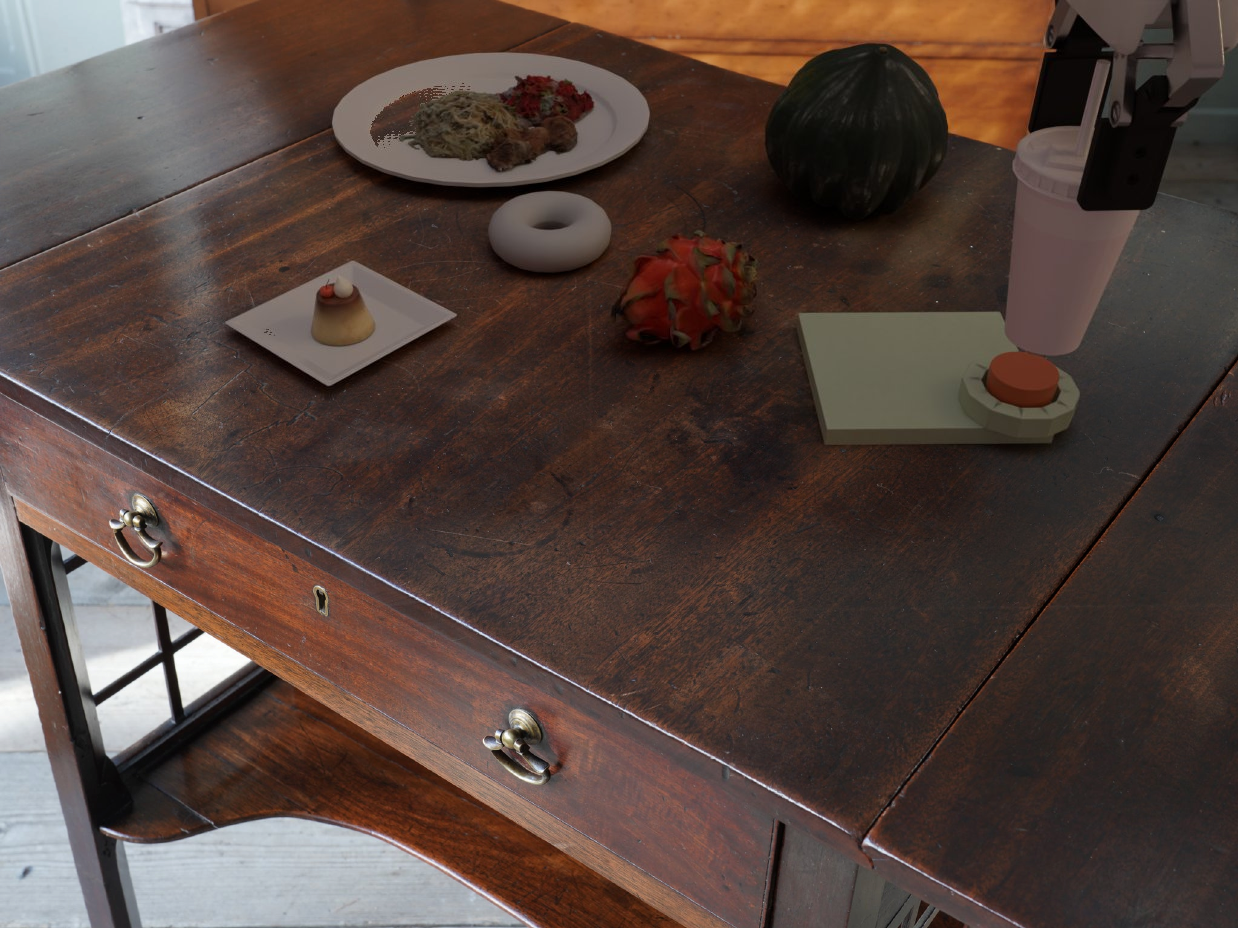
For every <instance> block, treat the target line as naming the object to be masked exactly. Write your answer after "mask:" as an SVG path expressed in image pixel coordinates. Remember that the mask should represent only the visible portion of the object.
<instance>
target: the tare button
mask: <svg viewBox="0 0 1238 928" xmlns="http://www.w3.org/2000/svg"><path fill="white" fill-rule="evenodd" d="M1055 366H1056V365H1055V364H1054V363H1052V362H1051V361H1050V360H1049V359H1046V358H1045V357H1043V356H1040V355H1039V354H1035V353H1032V352H1027V351H1019V352H1007V353H1003V354H1000V355H998V356H996V357H995V358H994V359H993V360H992V361H991V363H990V367H989V371H988V375H987V379H986V388H987V390H988V392H989V393H990V395H992V396H993V397H994V398H996V399H997V400H999V401H1000V402H1003V403H1006V404H1010V405H1013V406H1016V407H1020V408H1040V407H1043V406H1047V405H1049V404H1051V403H1052V402H1051V401H1052V400H1053V398H1054V395H1055V392H1056V388H1057V385H1058V381H1059V372H1058V370H1057V368H1058V367H1057V366H1056V367H1057V368H1056V367H1055Z"/></svg>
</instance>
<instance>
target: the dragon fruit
mask: <svg viewBox="0 0 1238 928" xmlns="http://www.w3.org/2000/svg"><path fill="white" fill-rule="evenodd" d="M693 235H694V236H696V237H695V238H694V239H689V238H686V237H684V236H683V235H682V234H680V233H676V234H673V235H672V236H671V237H666V238H665V239H663V240H662V241H661V242H660V243H658V244H657V247H656V248H655V250H652V251H648V252H645V253H642V254H640V255H638V256H636V257H634V258H633V260H632V262H631V264H630V267H629V272H628V276H627V279H626V281H625V283H624V284H623V287H622V288H621V290H620V292H619V296H618V298H617V300H616V301H615V302H614V304H613V305H612V306H611V313H610V320H611V323H612V324H615V323H616V322H617V319H616V318H617V316H619V318H620V319H621V321H625V322H627V323H629V325H633V326H634V327H631V328H629V329H627V330H626V331H625V335H626V337H627V339H628V340H632V341H634V342H638V343H643V344H644V345H646V346H647V345H653V346H654V345H655V346H656V344H659V343H661V342H663V340H668V342H669V344H670V345H673V346H674V347H675V348H677V349H678V348H681V347H683V346H684V345H686V344H689V348H690V350H691V351H697V350H699V349H702V348H705V347H706V346H707V345H708V344H711V342H713V337H715V336H718V335H719V333H721V332H722V331H724V332H726V333H734V332H738V331H740V330H741V328H742V324H743V322H742V321H743V320H746V319H750V318H752V316H754V314H755V311H756V310H755V309H753V310H752V311H751V310H748V309H747V308H746V306H748V305H750V304H751V303H752V301H753V300H754V299H755V298H757V294H758V291H757V285H756V283H755V282H756V281H757V280H758V278H759V277H758V275H757V273H758V263H759V260H758V259H756V258H755V257H753V256H752V255H751V254H750V253H749V252H746V251H745V252H743V251H742V249H743V244H742V243H739V242H737V241H729V242H726V240H724V239H723V238H721V237H719V238H717V239H716V240H714V239H712V238H711V237H710V234H709V233H707V232H704V231H702V230H701V229H697V230H695V231H694V232H693ZM731 318H732V319H735V320H738V324H734V322H733V321H732V320H731ZM704 334H705V335H704ZM702 335H704V338H703V340H702Z"/></svg>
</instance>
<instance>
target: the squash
mask: <svg viewBox="0 0 1238 928" xmlns="http://www.w3.org/2000/svg"><path fill="white" fill-rule="evenodd" d="M764 147H765V151H766V156H767V159H768V163H769V164H770V166H771V168H772V170H773V171H774V173H775V175H776V177H777V178H778V180H780V181H781V182H782V183H783V184H784V185H786V186H787V188H788V189H789V191H790V192H791V193H792V194H793V195H794V196H795V197H797V198H799V199H801V200H812V199H813V202H815V203H816V204H817V205H819V206H821V207H822V208H829V207H833V206H835V205H836V207H837V209H838V211H839V212H840V213H841V214H842V215H843V216H845V217H847V218H848V219H852V220H855V221H856V220H863V219H864V218H866V217H868V216H869V215H870V214H874V215H878V216H888V215H892V214H895V213H896V212H898V211H900V210H901V209H902V208H903V207H905V206H906V205H907V204H908V203H909V202H910V201H911V200H912V199H913V198H914V196H915V195H916V194H917V193H918V192H920V191H921V190H922V189H923V188H924V187H925V186H926V185H927V184H928V183H929V182H930V181H931V180H932V179H933V177H935V175H937V173H938V171H939V169H940V168H941V166H942V165H943V163H944V160H945V159H946V155H947V152H948V147H949V123H948V118H947V113H946V111H945V109H944V107H943V105H942V102H941V100H940V97H939V93H938V89H937V87H936V85H935V83H934V81H933V80H932V78H931V77H930V75H929V73H928V72H927V71H926V70H925V69H924V68H923V67H922V66H921V65H920V64H919V63H918V62H916V61H915V60H914V59H912V57H910V56H909V55H908V54H906V53H905V52H904V51H902V50H901V49H900V48H897V47H896V46H894V45H891V44H888V43H883V42H881V43H880V42H879V43H878V42H866V43H859V44H856V45H855V44H854V45H850V46H847V47H843V48H834V49H830V50H827V51H824V52H821V53H819V54H818V55H816V56H814V57H812V58H811V59H809V60H808V61H807V62H805V63H804V64H803V66H802V67H801V68H799V69H798V70H797V72H796V73H795V74H794V75H793V77H792V78H791V80H790V82H789V83H788V85H787V86H786V88H785V89H784V90H783V91H782V92H781V93H780V95H779V96H778V98H776V100H775V102H774V103H773V104H772V107H771V109H770V111H769V114H768V116H767V119H766V122H765V126H764Z"/></svg>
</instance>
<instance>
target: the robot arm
mask: <svg viewBox="0 0 1238 928" xmlns="http://www.w3.org/2000/svg"><path fill="white" fill-rule="evenodd" d="M1145 30H1172V42H1158V43H1157V42H1155V43H1152V42H1151V43H1148V42H1147V43H1146V42H1144V40H1143V39H1142V37H1143V34H1144V31H1145ZM1044 43H1045V46H1046V49H1047V50H1055V51H1045V52H1044V53H1043V58H1042V62H1041V67H1040V71H1039V75H1038V80H1037V85H1036V89H1035V93H1034V98H1033V103H1032V107H1031V111H1030V116H1029V121H1028V124H1027V131H1028V134H1030V133H1033V132H1035V131H1038V130H1041V129H1045V128H1051V127H1058V126H1081V123H1082V119H1083V115H1084V111H1085V107H1086V103H1087V99H1088V95H1089V91H1090V87H1091V83H1092V79H1093V75H1094V71H1095V67H1096V63H1097V61H1098V60H1108V61H1110V62H1111V63H1110V67H1109V71H1108V75H1107V79H1106V83H1105V86H1104V90H1103V94H1102V98H1101V102H1100V106H1099V110H1098V113H1097V117H1096V121H1095V125H1094V128H1095V129H1094V133H1093V137H1092V141H1091V145H1090V149H1089V153H1088V156H1087V160H1086V164H1085V168H1084V172H1083V176H1082V179H1081V183H1080V187H1079V191H1078V195H1077V203H1078V204H1079V206H1080V207H1081V208H1082V209H1083V210H1084V211H1122V210H1140V211H1146V210H1148V209H1150V208H1152V207H1153V206H1154V204H1155V202H1156V200H1157V199H1156V198H1157V195H1158V193H1159V189H1160V185H1161V182H1162V179H1163V176H1164V172H1165V169H1166V166H1167V163H1168V159H1169V156H1170V153H1171V150H1172V146H1173V144H1174V140H1175V136H1176V133H1177V129H1178V128H1181V127H1183V126H1184V125H1185V123H1186V121H1187V119H1188V115H1189V111H1190V110H1191V109H1193V108H1194V107H1195V106H1196V105H1197V104H1198V102H1199V100H1200V99H1201V97H1202V96H1203V95H1204V94H1205V93H1207V92H1208V91H1209V90H1210V89H1211V88H1213V87H1214V86H1215V85H1216V84H1217V83H1219V82H1220V80H1221V79H1222V77H1223V75H1224V72H1225V66H1226V65H1225V64H1226V63H1225V61H1226V60H1225V54H1227V53H1229V52H1231V51H1233V49H1234V48H1236V46H1237V45H1238V0H1054V11H1053V13H1052V15H1051V18H1050V20H1049V22H1048V25H1047V28H1046V30H1045V41H1044ZM1110 48H1112V49H1113V50H1107V49H1110ZM1103 49H1104V50H1103ZM1105 49H1106V50H1105ZM1141 61H1142V62H1144V61H1145V62H1147V61H1150V62H1151V61H1166V67H1165V72H1163V73H1162V74H1153V75H1152V76H1150V77H1149V78H1148V79H1147V80H1146V81H1144V83H1143V84H1141V85H1140V86H1139V87H1138V88H1137V81H1138V70H1139V62H1141ZM1109 90H1110V93H1109ZM1108 94H1109V103H1108V104H1109V106H1108V117H1102V116H1103V113H1104V109H1105V105H1106V102H1107V98H1108Z"/></svg>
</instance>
